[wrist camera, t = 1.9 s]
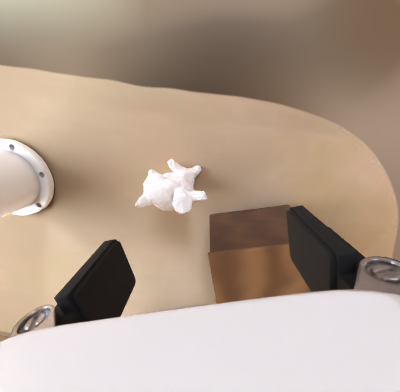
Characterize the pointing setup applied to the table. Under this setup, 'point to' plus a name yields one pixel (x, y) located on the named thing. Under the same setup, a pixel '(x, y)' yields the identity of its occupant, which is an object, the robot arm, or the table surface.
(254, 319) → the robot arm
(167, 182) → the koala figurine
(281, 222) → the step shelf
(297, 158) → the table surface
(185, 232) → the table surface
